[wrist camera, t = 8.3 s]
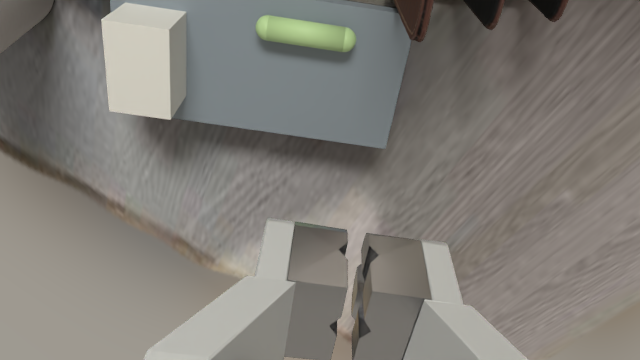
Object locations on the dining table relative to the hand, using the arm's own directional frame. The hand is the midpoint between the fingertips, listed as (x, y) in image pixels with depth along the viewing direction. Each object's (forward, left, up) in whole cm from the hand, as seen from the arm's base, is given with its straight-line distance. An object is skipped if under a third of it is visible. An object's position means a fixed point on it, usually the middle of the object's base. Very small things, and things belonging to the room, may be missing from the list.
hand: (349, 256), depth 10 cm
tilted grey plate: (+7, -5, -28) cm, 29 cm away
